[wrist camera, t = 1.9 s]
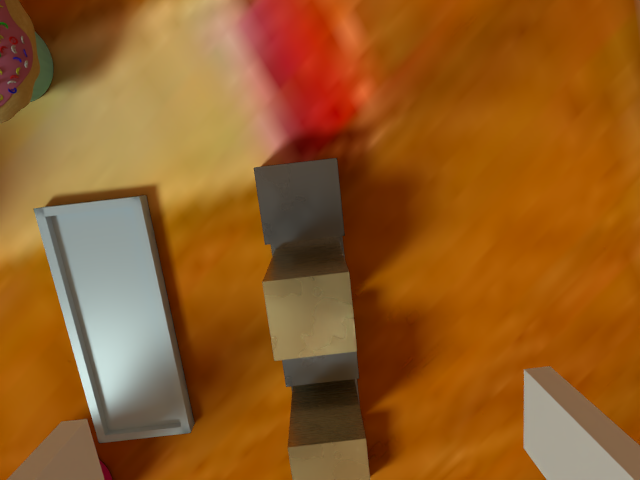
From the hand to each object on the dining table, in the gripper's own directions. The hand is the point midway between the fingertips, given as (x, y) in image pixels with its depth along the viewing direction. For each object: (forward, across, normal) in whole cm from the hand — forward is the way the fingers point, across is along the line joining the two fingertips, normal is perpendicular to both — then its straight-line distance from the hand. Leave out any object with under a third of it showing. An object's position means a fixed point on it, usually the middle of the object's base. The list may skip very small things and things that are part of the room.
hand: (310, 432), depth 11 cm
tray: (+16, +14, +2) cm, 21 cm away
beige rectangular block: (+16, 0, 0) cm, 16 cm away
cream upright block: (+16, 0, +10) cm, 19 cm away
